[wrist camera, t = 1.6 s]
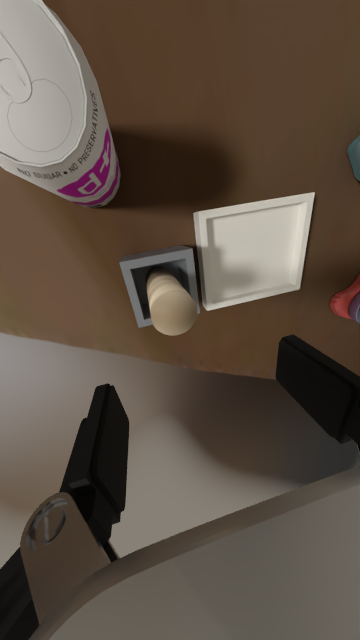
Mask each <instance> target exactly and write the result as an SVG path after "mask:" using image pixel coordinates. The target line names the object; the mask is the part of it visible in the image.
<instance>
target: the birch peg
mask: <svg viewBox="0 0 360 640" xmlns="http://www.w3.org/2000/svg"><path fill="white" fill-rule="evenodd" d="M145 282H146V288H147V295H148V301H149V307H150V314H151V320H152V323H153V325H154V326H155V328H156V329H157V330H158V331H160V332H161V333H163V334H166V335H179V334H182V333H184V332H186V331H188V330H189V329H190V328H191V327H192V326H193V324H194V323H195V321H196V319H197V313H198V311H197V306H196V303H195V301H194V300H193V299H192V298H191V296H190V295H189V294H188V293H187V292H186V290H185V289H184V288H183V287H182V286H181V284H180V283H179V282H178V281H177V279H176V278H175V277H174V276H173V275H172V273H171V272H170V271H169V270H168V269H167V268H165V267H162V266H156V267H153V268H151V269H150V270H149V271H148V272H147V274H146V278H145Z"/></svg>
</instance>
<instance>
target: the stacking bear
mask: <svg viewBox="0 0 360 640" xmlns="http://www.w3.org/2000/svg"><path fill="white" fill-rule="evenodd" d="M330 307H331V309H332V311H333V312H334V313H335V314H336V315H338V316H340V317H343V318H347V319H353V320H355V321H356V322H358V323H360V274H359V275H358V276H357V278H356V280H355V281H354V282H353V284H352V285H351V286H350V287H348V288H347V289H345V290H343V291H340V292H338V293H336V294H335V295H334V296H333V297H332V299H331V301H330Z"/></svg>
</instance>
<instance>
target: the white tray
mask: <svg viewBox="0 0 360 640" xmlns="http://www.w3.org/2000/svg"><path fill="white" fill-rule="evenodd" d="M314 195H315V192H313V193H307V194H301V195H295V196H288V197H282V198H276V199H270V200H264V201H258V202H252V203H246V204H240V205H234V206H228V207H222V208H216V209H210V210H204V211H198V212H195V213H193V216H194V225H195V235H196V245H197V254H198V264H199V274H200V283H201V293H202V302H203V306H204V308H205V309H206V310H207V311H209V310H213V309H217V308H222V307H226V306H230V305H234V304H239V303H243V302H247V301H251V300H256V299H260V298H264V297H269V296H273V295H277V294H281V293H286V292H290V291H294V290H298V289H300V284H301V278H302V271H303V265H304V258H305V252H306V246H307V239H308V233H309V226H310V220H311V214H312V207H313V201H314Z"/></svg>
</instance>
